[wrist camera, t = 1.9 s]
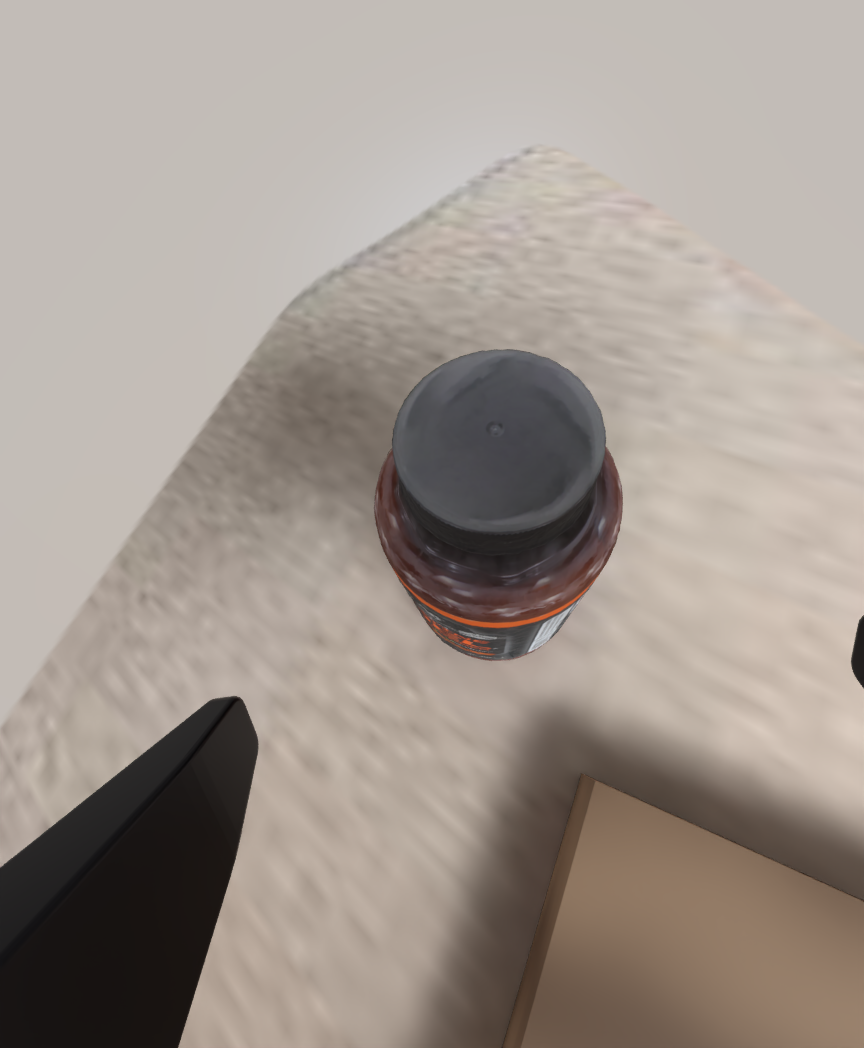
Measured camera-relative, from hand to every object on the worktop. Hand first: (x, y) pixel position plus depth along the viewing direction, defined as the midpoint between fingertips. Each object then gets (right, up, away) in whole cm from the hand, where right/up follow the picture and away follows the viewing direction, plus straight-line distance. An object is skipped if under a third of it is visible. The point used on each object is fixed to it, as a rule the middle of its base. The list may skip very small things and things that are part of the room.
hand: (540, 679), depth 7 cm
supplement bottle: (+1, 0, +12) cm, 12 cm away
